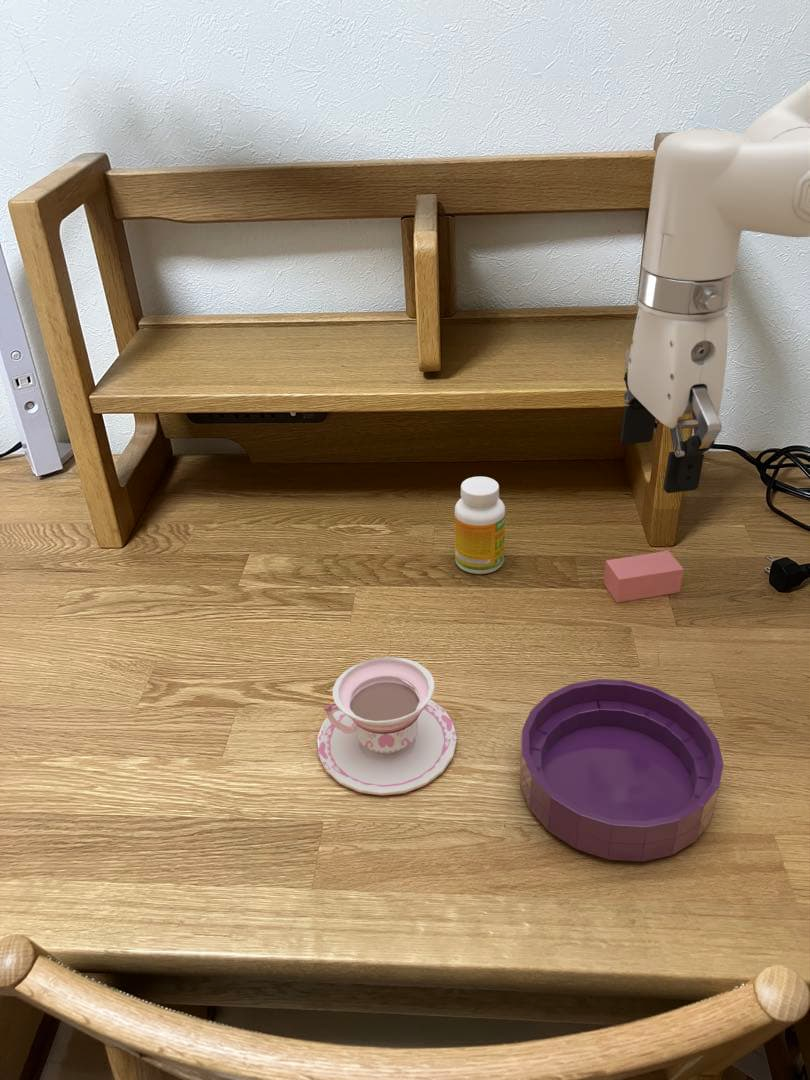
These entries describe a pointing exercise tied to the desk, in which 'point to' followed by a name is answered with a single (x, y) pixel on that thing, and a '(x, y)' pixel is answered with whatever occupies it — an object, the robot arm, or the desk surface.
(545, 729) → the bowl
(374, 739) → the teacup
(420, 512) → the desk surface
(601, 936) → the desk surface
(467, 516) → the supplement bottle
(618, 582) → the eraser
